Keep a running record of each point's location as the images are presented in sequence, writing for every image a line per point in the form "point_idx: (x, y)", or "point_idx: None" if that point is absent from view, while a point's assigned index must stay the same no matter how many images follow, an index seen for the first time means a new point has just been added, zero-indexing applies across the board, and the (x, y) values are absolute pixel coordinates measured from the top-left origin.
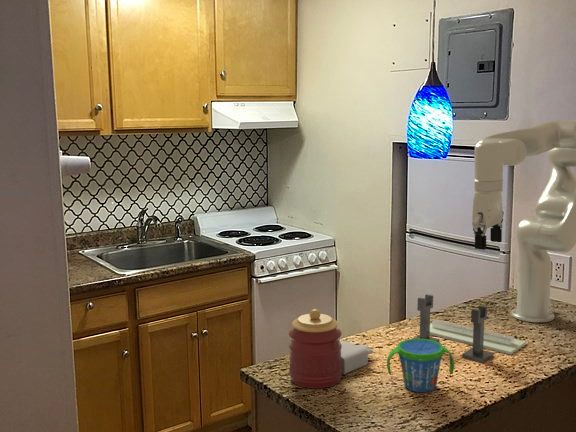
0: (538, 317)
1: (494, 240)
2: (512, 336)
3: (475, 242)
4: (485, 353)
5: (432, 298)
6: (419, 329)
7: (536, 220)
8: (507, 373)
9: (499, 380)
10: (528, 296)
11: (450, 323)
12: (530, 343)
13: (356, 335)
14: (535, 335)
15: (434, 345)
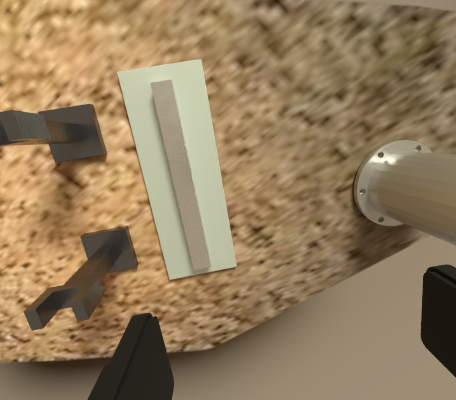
0: (376, 210)
1: (430, 306)
2: (209, 264)
3: (115, 362)
4: (120, 261)
5: (24, 139)
6: (117, 72)
7: None
8: (96, 318)
9: (61, 326)
10: (404, 204)
11: (173, 127)
12: (247, 265)
13: None
14: (292, 248)
15: None
